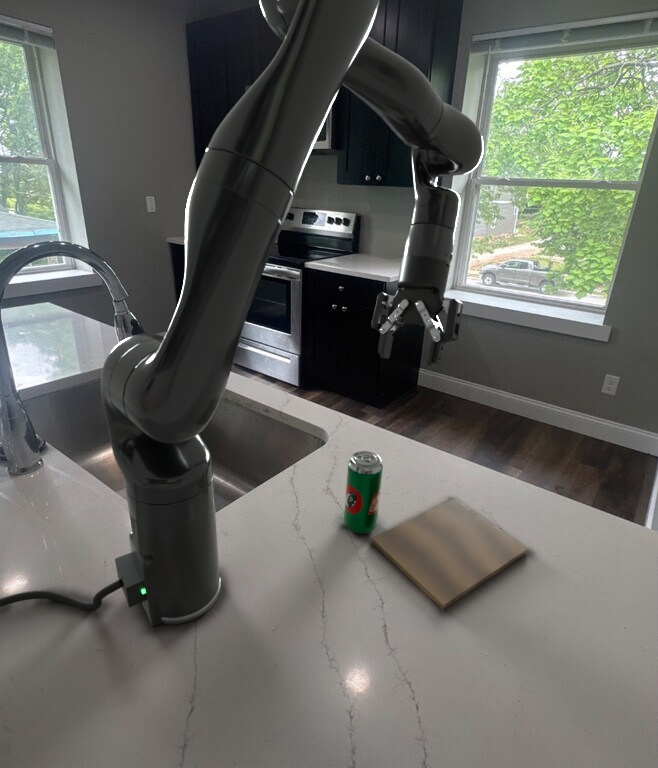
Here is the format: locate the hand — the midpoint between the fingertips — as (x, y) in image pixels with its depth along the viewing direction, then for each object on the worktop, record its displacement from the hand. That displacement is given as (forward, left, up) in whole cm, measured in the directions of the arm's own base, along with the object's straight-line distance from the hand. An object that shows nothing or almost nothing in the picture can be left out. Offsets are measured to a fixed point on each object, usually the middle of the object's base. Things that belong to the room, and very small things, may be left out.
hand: (407, 362), depth 74 cm
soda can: (-12, -6, -23) cm, 27 cm away
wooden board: (-4, -17, -23) cm, 29 cm away
